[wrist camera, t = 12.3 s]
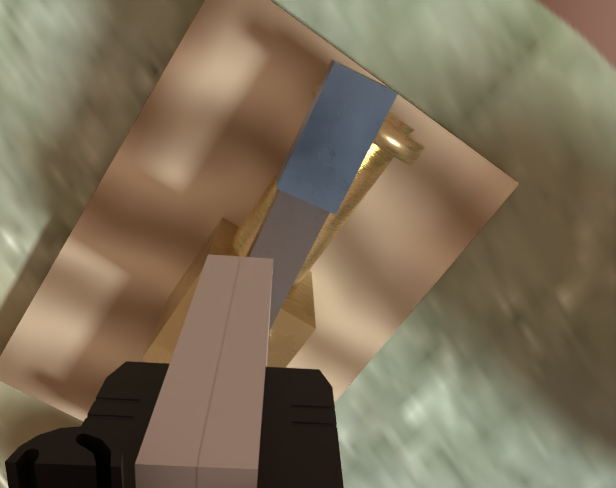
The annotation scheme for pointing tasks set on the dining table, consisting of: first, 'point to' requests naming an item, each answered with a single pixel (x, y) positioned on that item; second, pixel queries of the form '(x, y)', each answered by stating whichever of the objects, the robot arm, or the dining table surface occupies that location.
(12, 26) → the dining table surface
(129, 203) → the board
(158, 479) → the robot arm
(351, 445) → the dining table surface
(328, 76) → the lever
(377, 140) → the valve body
